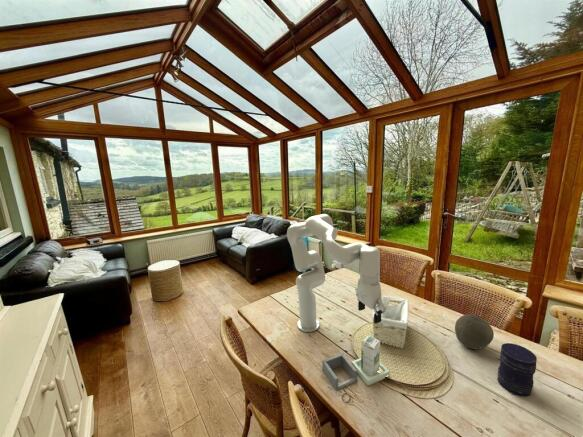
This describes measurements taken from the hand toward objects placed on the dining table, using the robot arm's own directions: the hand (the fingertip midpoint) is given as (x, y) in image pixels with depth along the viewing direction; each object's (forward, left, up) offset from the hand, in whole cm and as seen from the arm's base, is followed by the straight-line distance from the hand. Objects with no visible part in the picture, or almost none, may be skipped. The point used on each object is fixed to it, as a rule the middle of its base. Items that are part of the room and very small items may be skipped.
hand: (369, 315), depth 97 cm
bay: (-3, -13, -26) cm, 29 cm away
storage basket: (-14, +26, -27) cm, 40 cm away
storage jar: (+30, +45, -26) cm, 60 cm away
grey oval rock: (+10, +53, -26) cm, 60 cm away
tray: (+1, 0, -26) cm, 26 cm away
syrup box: (+1, 0, -26) cm, 26 cm away
